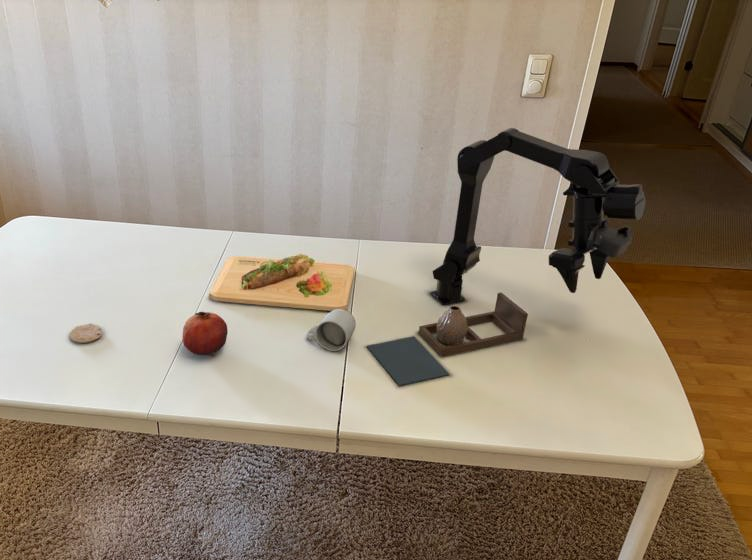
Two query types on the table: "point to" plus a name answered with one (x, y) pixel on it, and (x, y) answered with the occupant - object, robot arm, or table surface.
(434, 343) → the cup stand
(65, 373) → the table surface
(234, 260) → the cutting board
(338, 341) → the ceramic mug
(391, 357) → the mat
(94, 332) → the flatbread
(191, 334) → the fruit
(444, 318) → the vase
